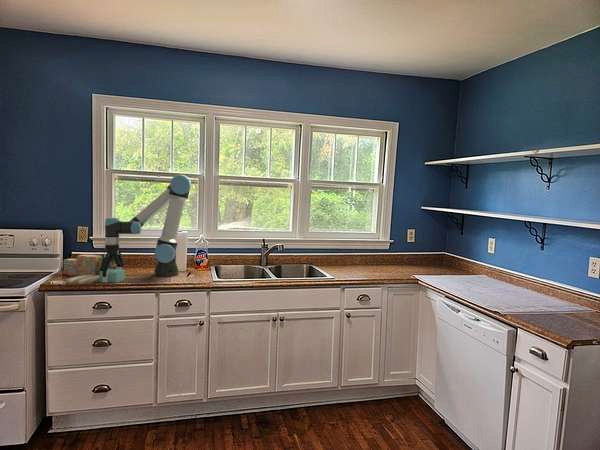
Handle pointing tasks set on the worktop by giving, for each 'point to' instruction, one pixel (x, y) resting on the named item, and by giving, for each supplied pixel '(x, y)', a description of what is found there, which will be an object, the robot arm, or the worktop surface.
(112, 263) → the chalk box
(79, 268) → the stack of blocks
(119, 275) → the brick
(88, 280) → the build plate
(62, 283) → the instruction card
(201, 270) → the worktop surface
